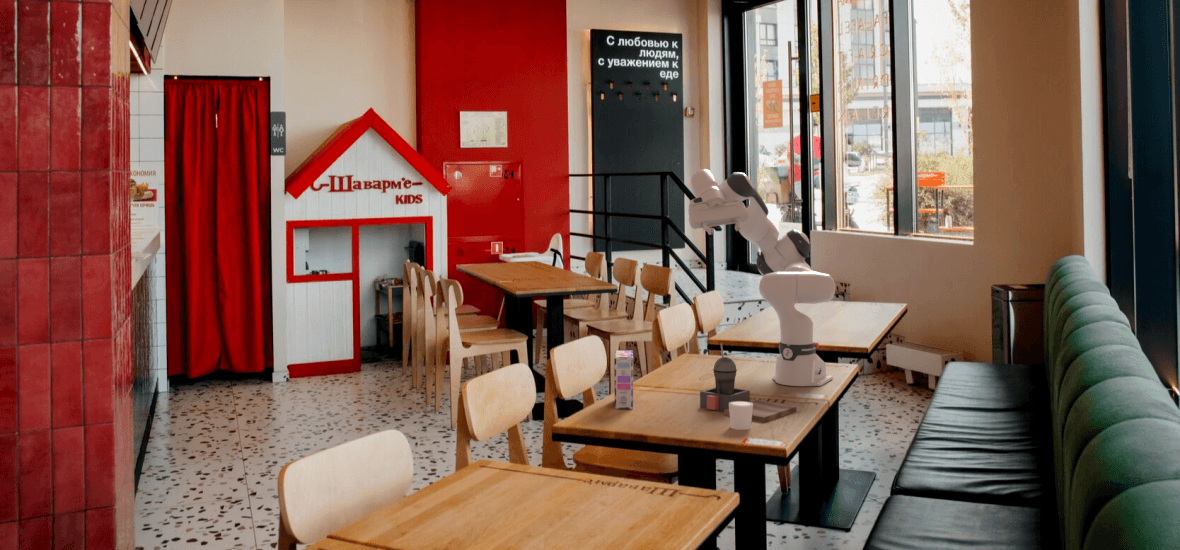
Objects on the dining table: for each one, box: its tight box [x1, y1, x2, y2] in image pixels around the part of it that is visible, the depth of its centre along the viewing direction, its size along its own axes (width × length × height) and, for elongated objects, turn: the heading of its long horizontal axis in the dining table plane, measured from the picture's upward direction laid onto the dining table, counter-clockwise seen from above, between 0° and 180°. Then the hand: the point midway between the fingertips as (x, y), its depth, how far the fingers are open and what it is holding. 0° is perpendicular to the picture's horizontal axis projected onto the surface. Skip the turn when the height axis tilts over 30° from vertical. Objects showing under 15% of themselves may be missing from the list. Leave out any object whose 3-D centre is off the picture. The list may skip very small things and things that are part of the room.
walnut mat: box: [723, 399, 798, 423], centre depth 274 cm, size 18×14×2 cm
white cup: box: [729, 401, 753, 431], centre depth 257 cm, size 7×7×7 cm
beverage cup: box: [712, 342, 738, 395], centre depth 282 cm, size 7×7×20 cm
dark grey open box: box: [699, 386, 751, 412], centre depth 282 cm, size 13×11×5 cm
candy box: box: [613, 350, 634, 410], centre depth 287 cm, size 14×6×16 cm, turn 176°
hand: (725, 231), depth 303 cm, fingers open, 8 cm apart
